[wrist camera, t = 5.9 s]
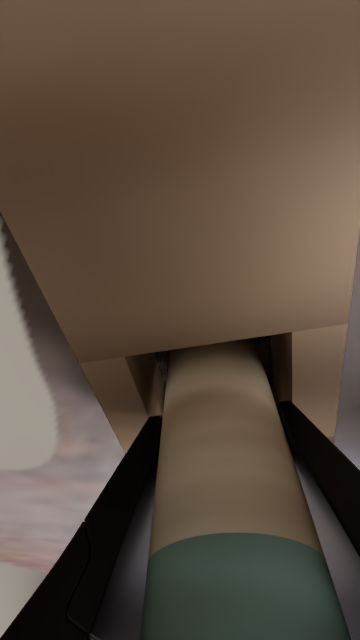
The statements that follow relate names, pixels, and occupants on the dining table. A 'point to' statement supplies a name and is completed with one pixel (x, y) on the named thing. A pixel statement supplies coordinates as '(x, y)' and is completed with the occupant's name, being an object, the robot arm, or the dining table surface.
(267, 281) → the socket block
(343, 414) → the dining table surface
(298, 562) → the peg
